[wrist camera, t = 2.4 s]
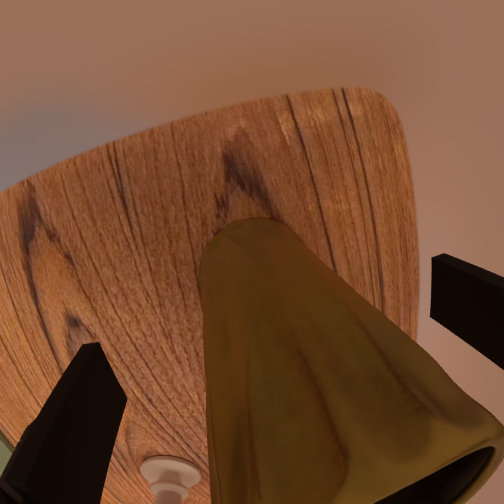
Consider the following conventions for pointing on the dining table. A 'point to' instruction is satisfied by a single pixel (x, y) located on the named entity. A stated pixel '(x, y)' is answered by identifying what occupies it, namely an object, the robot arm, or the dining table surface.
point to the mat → (4, 452)
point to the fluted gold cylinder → (325, 388)
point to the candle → (170, 478)
